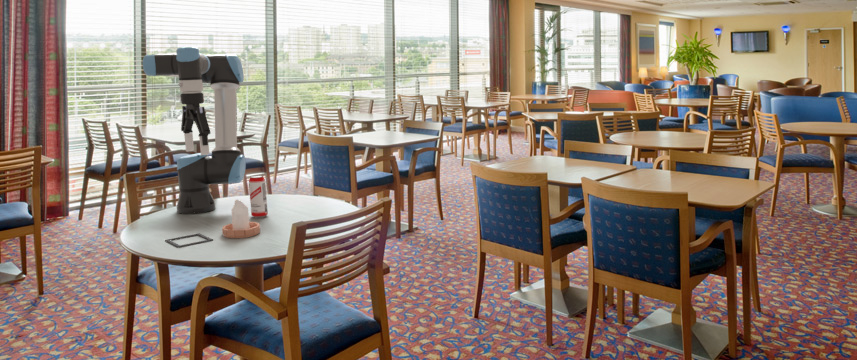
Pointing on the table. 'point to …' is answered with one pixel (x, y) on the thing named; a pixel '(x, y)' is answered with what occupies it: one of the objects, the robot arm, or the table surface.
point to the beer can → (258, 196)
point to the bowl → (241, 231)
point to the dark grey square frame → (189, 243)
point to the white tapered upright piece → (240, 216)
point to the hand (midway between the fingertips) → (197, 153)
